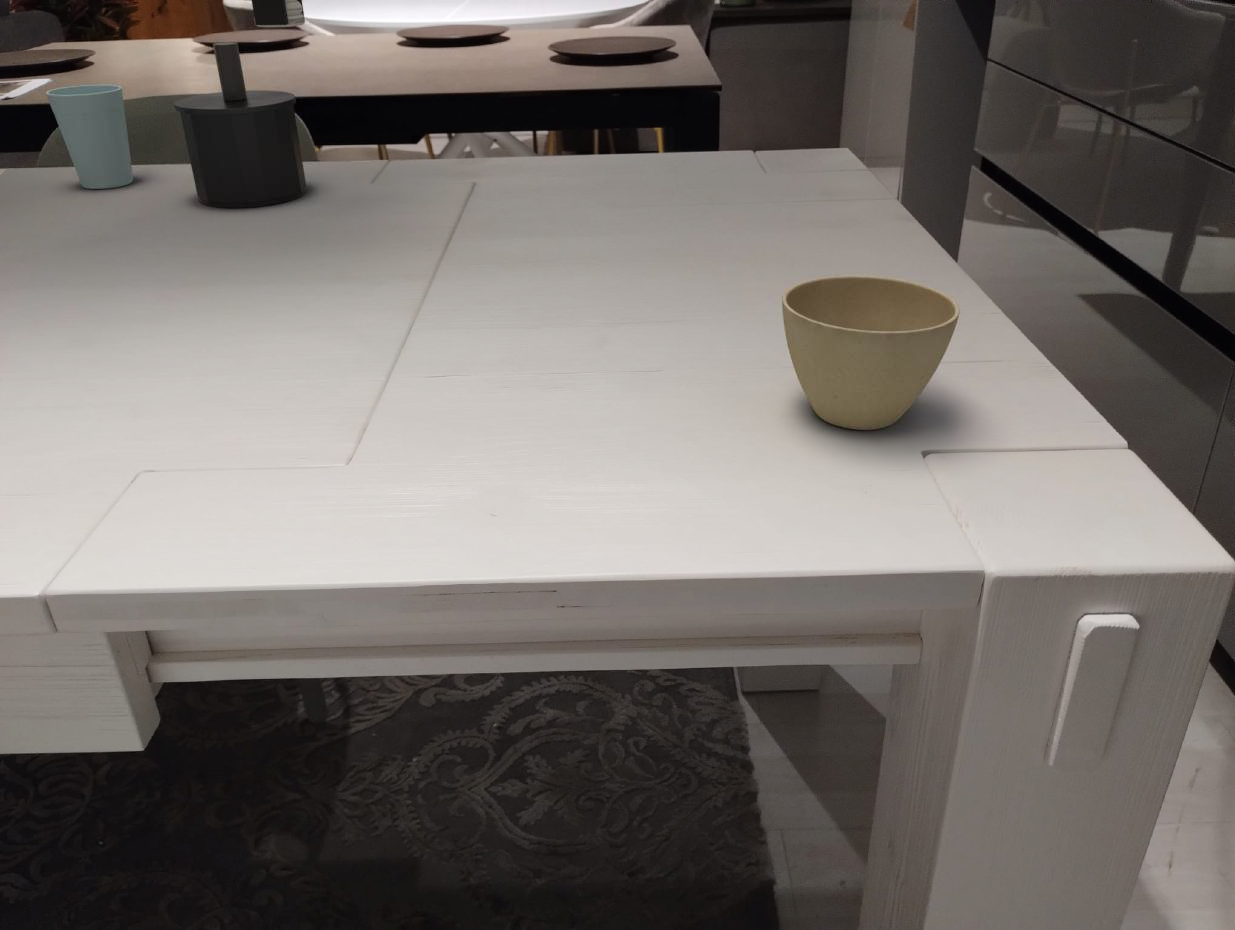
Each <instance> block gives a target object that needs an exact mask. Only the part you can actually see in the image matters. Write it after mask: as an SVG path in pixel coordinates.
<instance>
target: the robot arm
mask: <svg viewBox="0 0 1235 930" xmlns="http://www.w3.org/2000/svg"><path fill="white" fill-rule="evenodd" d="M297 1H298V2H299V3H300V4H301V5H302V9H303V10H302V12H301V14H303V15H304V16H305V12H304V5H303V0H297ZM251 5H252V11H253V19H254V18H255V21H254V25H255V24H256V25H287V24H289V23H288V16H287V10H286V3H285V0H251ZM256 25H255V26H256Z"/></svg>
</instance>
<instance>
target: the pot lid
mask: <svg viewBox="0 0 1235 930" xmlns="http://www.w3.org/2000/svg"><path fill="white" fill-rule="evenodd" d="M212 47H213V52H214V58H215V62H216V68H217V73H218V77H219V83H220V88H221V91H220V92H219V91H218V92H211V93H203V94H202V93H201V94H197V95H192V96H187V97H184V98H180V99H178V100H175V102H174V103H173V105H174V110H175V111H176V112H178V113H179V114H180V113H185V114H192V115H236V114H249V113H258V112H265V111H272V110H277V109H281V108H285V107H288V106H291V105H293V106H294V105H295V104H296V103H297V100H296V99H297V98H296V95H295V94H294V93H291V92H288V91H281V90H280V91H279V90H262V89H261V90H260V89H259V90H258V89H257V90H256V89H255V90H253V89H252V90H247V89H246V84H245V78H244V72H243V67H242V60H241V55H240V51H239V45H238V42H237V41H236V42H235V41H226V42H225V41H222V42H216V43H213V44H212Z"/></svg>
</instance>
